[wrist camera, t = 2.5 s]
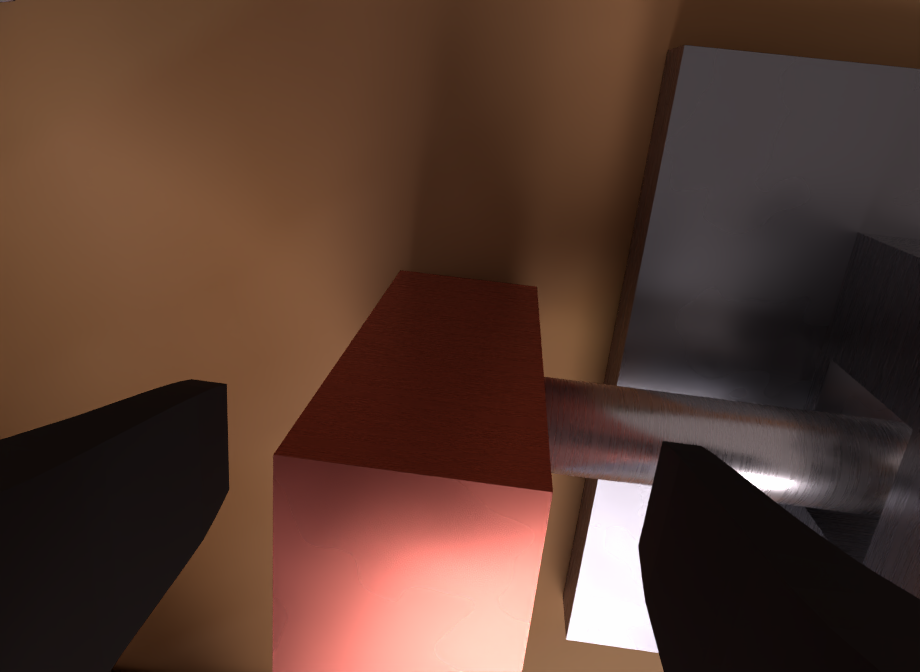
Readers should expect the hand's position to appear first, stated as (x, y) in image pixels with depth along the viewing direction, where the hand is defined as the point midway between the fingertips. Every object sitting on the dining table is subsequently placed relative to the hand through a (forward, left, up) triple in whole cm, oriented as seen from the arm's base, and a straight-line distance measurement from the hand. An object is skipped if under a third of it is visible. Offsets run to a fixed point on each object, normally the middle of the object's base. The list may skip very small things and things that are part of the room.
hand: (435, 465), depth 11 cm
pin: (0, -5, -5) cm, 7 cm away
